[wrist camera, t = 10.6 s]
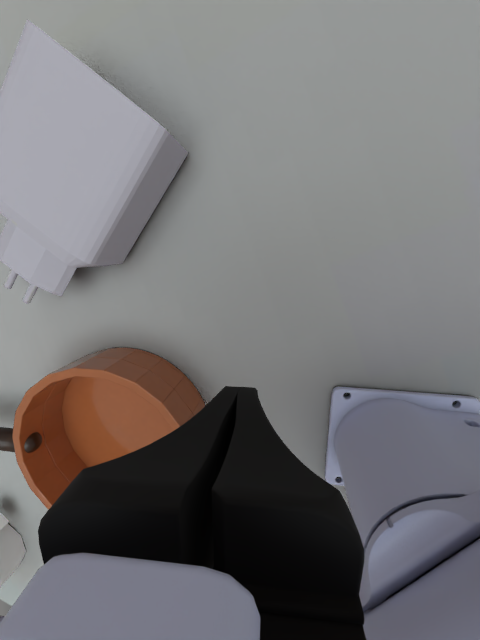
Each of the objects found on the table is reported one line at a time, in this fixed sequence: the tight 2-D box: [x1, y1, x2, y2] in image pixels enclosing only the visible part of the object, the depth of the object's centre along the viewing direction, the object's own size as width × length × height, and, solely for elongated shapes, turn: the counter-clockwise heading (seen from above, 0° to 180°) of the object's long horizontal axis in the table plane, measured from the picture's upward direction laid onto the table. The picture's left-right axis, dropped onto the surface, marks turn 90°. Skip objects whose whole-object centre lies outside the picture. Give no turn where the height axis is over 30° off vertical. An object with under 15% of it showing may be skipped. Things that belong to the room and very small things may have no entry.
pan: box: [12, 348, 205, 509], centre depth 22 cm, size 14×14×4 cm
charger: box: [0, 19, 188, 303], centre depth 18 cm, size 5×9×15 cm
